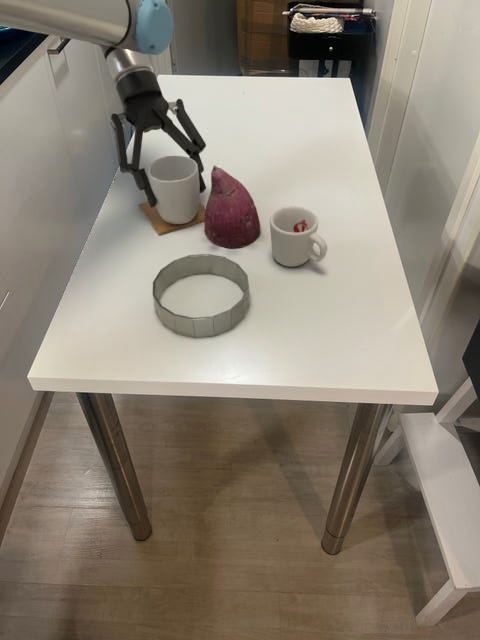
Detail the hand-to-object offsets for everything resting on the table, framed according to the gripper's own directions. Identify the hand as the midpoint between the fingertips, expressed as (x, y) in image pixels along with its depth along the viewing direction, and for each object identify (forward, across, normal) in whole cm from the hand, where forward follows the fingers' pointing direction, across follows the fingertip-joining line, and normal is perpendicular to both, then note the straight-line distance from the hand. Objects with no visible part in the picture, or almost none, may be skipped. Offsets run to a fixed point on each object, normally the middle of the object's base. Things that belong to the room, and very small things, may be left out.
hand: (178, 197), depth 91 cm
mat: (+1, 0, -6) cm, 6 cm away
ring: (+19, +6, +12) cm, 24 cm away
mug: (+1, -1, -5) cm, 5 cm away
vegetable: (+9, -7, +2) cm, 12 cm away
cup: (+18, -13, +11) cm, 25 cm away
